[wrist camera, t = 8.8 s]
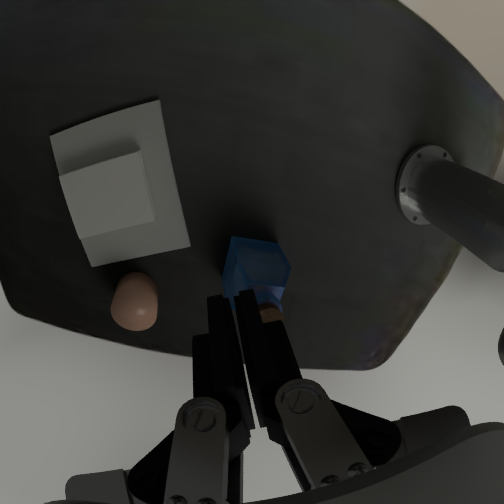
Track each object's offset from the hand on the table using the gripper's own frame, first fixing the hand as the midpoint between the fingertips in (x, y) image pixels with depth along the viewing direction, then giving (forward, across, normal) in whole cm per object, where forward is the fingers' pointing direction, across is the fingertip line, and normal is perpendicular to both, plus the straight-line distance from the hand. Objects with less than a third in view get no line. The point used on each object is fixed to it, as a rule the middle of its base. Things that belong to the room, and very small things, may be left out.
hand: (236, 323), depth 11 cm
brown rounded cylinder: (+25, +13, +14) cm, 32 cm away
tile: (+24, +8, 0) cm, 25 cm away
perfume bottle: (+25, -3, +13) cm, 28 cm away
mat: (+25, +12, 0) cm, 28 cm away
